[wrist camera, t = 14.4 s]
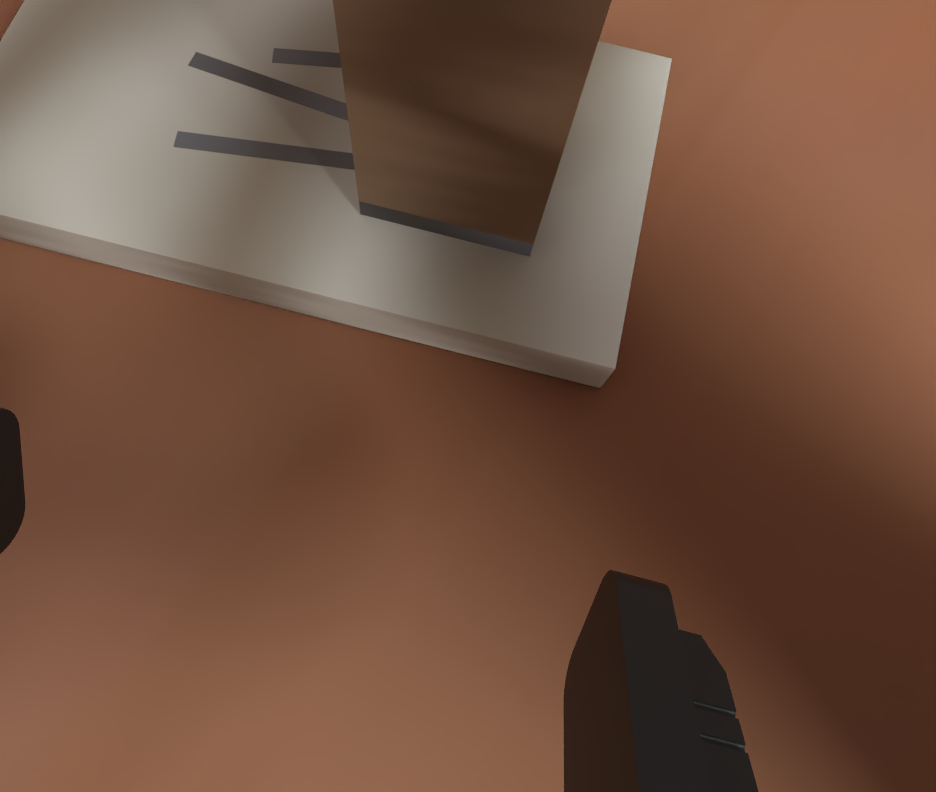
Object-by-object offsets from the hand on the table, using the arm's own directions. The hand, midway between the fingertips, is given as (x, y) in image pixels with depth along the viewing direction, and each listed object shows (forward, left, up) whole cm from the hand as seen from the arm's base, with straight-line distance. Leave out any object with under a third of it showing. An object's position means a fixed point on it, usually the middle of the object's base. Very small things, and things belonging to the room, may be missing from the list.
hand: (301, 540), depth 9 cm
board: (+4, -11, -8) cm, 14 cm away
